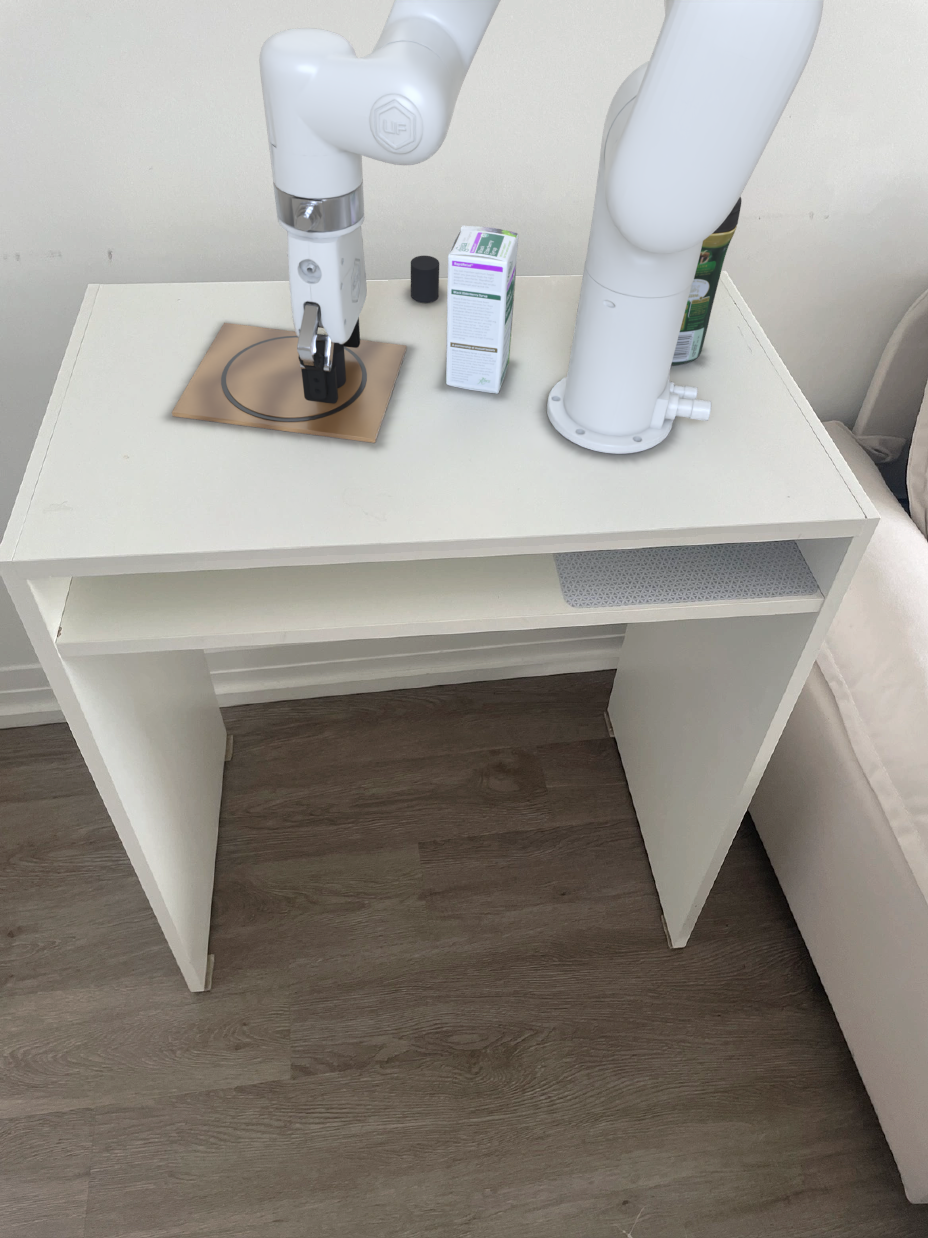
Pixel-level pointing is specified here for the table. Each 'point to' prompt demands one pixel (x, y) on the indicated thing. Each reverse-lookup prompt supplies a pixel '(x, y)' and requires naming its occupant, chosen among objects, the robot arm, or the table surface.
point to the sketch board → (288, 385)
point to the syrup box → (480, 307)
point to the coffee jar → (704, 290)
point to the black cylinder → (424, 279)
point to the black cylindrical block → (335, 360)
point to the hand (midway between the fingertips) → (333, 371)
